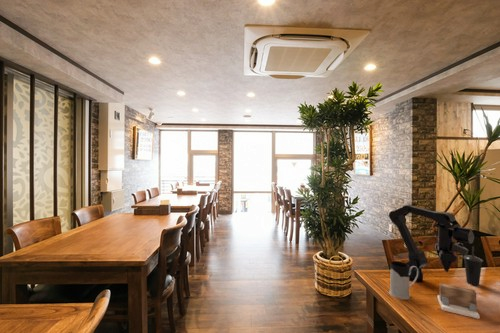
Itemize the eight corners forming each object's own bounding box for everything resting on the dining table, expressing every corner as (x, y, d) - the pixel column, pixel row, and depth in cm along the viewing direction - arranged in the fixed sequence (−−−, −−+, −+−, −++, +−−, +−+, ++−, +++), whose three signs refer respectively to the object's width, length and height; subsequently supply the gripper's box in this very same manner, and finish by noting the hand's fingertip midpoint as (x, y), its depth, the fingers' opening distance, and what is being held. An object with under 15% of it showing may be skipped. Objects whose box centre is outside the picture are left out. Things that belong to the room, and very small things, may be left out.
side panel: (442, 310, 103) (442, 300, 103) (437, 298, 113) (437, 288, 113) (479, 318, 97) (479, 308, 97) (470, 305, 107) (470, 295, 107)
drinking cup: (486, 287, 123) (486, 249, 123) (469, 286, 124) (469, 248, 124) (475, 281, 130) (475, 245, 130) (459, 279, 132) (460, 244, 132)
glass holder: (385, 290, 120) (385, 260, 120) (411, 289, 121) (411, 260, 121) (397, 299, 111) (397, 268, 111) (425, 298, 112) (425, 267, 112)
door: (440, 301, 107) (440, 285, 107) (439, 298, 109) (439, 283, 109) (476, 309, 101) (476, 293, 101) (474, 305, 103) (474, 289, 103)
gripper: (472, 245, 107) (471, 279, 107) (462, 235, 123) (461, 265, 123) (440, 241, 113) (440, 273, 113) (435, 232, 128) (434, 260, 129)
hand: (444, 268), depth 119 cm, fingers open, 9 cm apart
